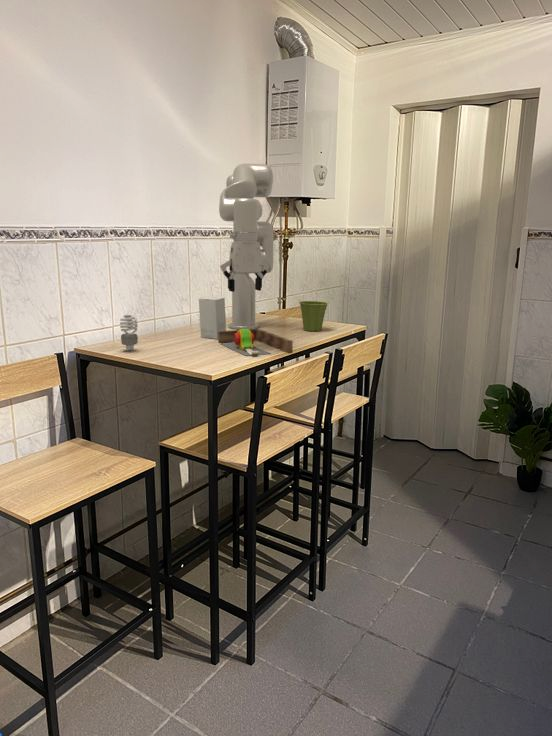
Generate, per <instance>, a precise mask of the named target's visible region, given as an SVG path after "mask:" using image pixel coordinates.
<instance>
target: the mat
mask: <svg viewBox="0 0 552 736" xmlns="http://www.w3.org/2000/svg"><path fill="white" fill-rule="evenodd" d="M220 345H222V346H224V347H226V348H227V349H230V350H232V351H234V352H236V353H238V354H241V355H243V356H244V357H250V356H251V357H253V356H252V355H250V354H249V353H248V352H247V351H246V350H243V351H242V350H241V349H240V348H239V347H238V345H235V343H234V342H230V343H220ZM252 351H258V352H259V354H258V355H257V356H260V355H261V356H262V355H270V354H272V353H271V352H269V351H266V350H264V349H262V348H260V347H257V346H255V345H253V350H252Z"/></svg>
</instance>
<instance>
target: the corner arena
mask: <svg viewBox="0 0 552 736" xmlns="http://www.w3.org/2000/svg"><path fill="white" fill-rule="evenodd" d="M238 330H239V329H233V330H232V329H231V330H226V331H218V339H217V340H218V343H219V344H224V343H234V334H235V333H237V331H238ZM249 330H250V331H251V333H253V334H254V341H256V342H260V343H262V344H265V345H267V346H268V347H272V348H274V349H278V350H279V349H280V350H279V351H282V352H284V353H287V354H293V348H294V347H293V344H294V343H293V340H291V339H288V338H286V337H283V336H281V335H280V336H279V335H277V334H275V333H271V332H269V331H266V330H264V329H263V330H262V329H260V328H255V329H249Z"/></svg>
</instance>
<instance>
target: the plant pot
mask: <svg viewBox="0 0 552 736" xmlns="http://www.w3.org/2000/svg"><path fill="white" fill-rule="evenodd" d="M298 303H299V307H300V310H301V319H302V327H303V330H304V331H305V332H306V331H307V332H315V331H316V332H321V331H322V328H323V323H324V318H325V314H326V310H327V306H328V305H329V302H325V301H320V300H319V301H318V300H303V301H298Z"/></svg>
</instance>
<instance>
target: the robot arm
mask: <svg viewBox="0 0 552 736" xmlns="http://www.w3.org/2000/svg"><path fill="white" fill-rule="evenodd" d="M232 173H233V174H230V175H229V176H228V177H227V179H226V183H225V184H226V187H225V188H224V189H223V190H222V191H221V193H220V197H219V206H218V208H219V209H218V213H219V216H220V218H221V219H222V221H224V222H233V225H232V227H233V229H232V231H233V232H232V233H231V234H230V233H229V234H230V235H229V238H230V239H232V240H233V241H232V242H231V246H230V250H229V260H227V261H226V262H224V263H222V264H220V266H219V268H220V270H221V272H222V274H223V275H224V276H225V278H226V279H227V289H228V291H229V292H231V303H232V304H231V306H232V307H231V322H230V323H228V328H229V329H233V330H240V329H259V327H260V324H259V323H257V322H256V291H259V292H260V291H262V287H263V279H264V277H265V275H266V274H269V273H272V271H273V270H274V228H273V226H272V224H271V223H270V222H268V221H262V220H261V221H260V219H261V218H262V215H263V205H262V203H261V202H260V200H258V199H257V198H268V197H270V195H272V194H271V193H272V190H273V183H274V174H273V170H272V168H271V166H270V165H268V164H266V163H240V164H238V165H236V166H235V168H234V169H233V172H232ZM261 248H262V249H261ZM227 268H228V270H229V271H227ZM250 274H254V275H255V276H256V277H255V279H253V278H252V277H251V275H250ZM254 280H255V281H254Z"/></svg>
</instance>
